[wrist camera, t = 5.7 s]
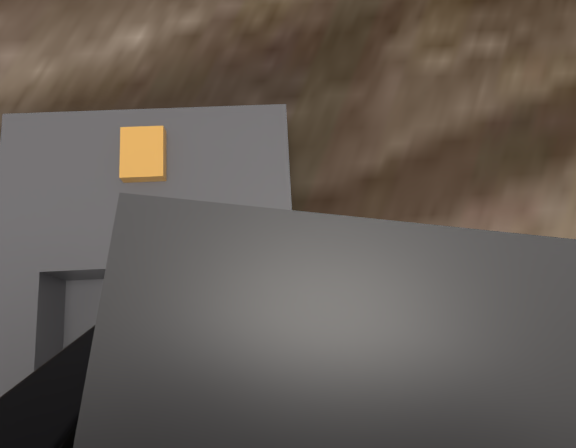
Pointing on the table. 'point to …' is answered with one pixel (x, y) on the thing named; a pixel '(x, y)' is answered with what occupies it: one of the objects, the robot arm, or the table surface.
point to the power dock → (110, 203)
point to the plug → (327, 333)
